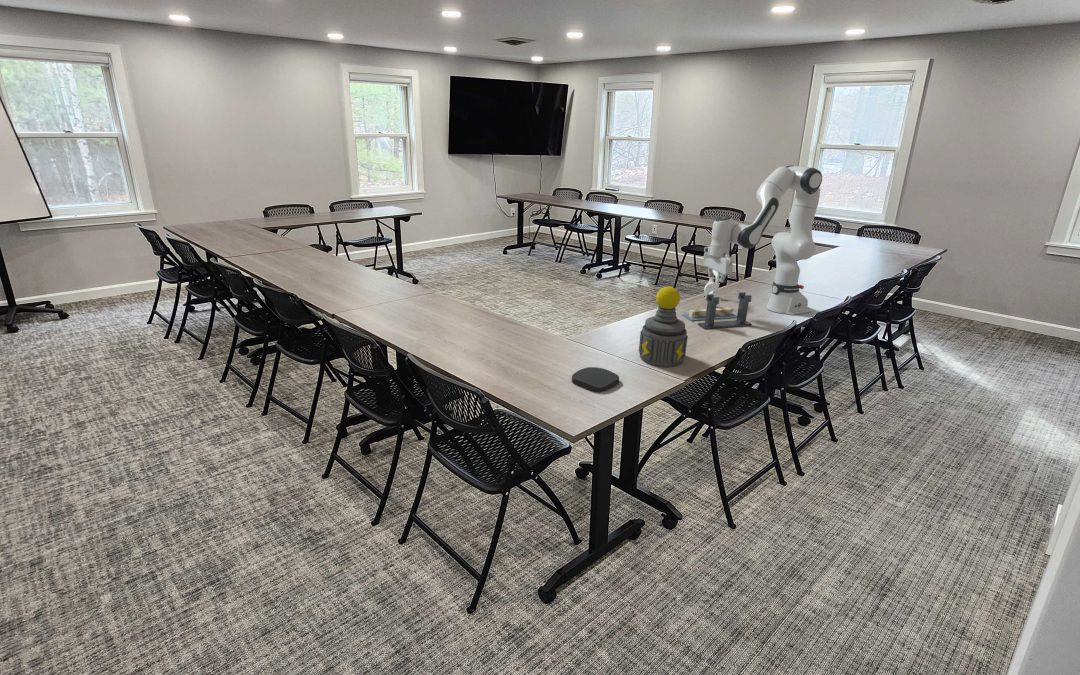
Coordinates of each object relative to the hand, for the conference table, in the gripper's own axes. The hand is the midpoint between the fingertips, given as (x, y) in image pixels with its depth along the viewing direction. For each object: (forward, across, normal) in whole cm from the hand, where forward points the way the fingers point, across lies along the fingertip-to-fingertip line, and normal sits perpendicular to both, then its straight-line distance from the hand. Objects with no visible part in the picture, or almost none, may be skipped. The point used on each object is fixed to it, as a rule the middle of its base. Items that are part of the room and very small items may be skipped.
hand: (716, 279), depth 272 cm
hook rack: (+19, -13, +1) cm, 23 cm away
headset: (+20, +21, -12) cm, 31 cm away
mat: (+19, 0, +1) cm, 19 cm away
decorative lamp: (+18, -43, +49) cm, 67 cm away
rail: (+18, 0, +1) cm, 18 cm away
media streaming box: (+17, -58, +83) cm, 103 cm away
